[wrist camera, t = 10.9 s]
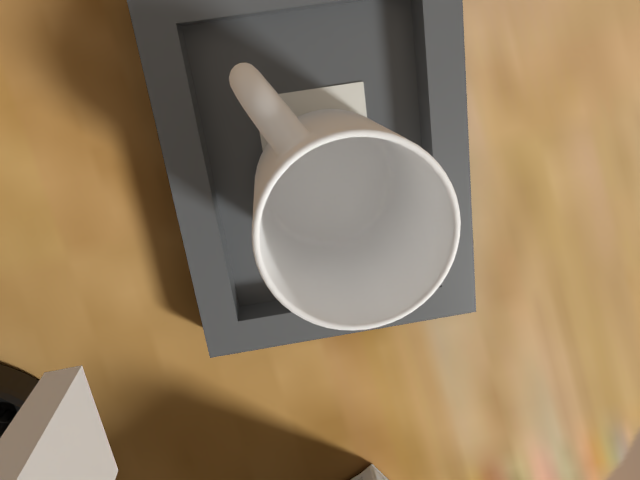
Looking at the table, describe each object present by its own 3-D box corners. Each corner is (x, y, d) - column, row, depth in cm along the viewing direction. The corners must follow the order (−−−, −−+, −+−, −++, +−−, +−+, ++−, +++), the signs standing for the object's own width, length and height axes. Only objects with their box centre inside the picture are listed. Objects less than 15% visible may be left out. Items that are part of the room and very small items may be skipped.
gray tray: (214, 333, 34) (210, 357, 31) (136, -9, 28) (122, -17, 25) (458, 291, 35) (476, 311, 32) (439, -50, 28) (459, -62, 26)
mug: (179, 110, 29) (138, 136, 19) (304, 14, 28) (328, -12, 18) (311, 275, 32) (333, 367, 23) (425, 194, 31) (498, 254, 22)
